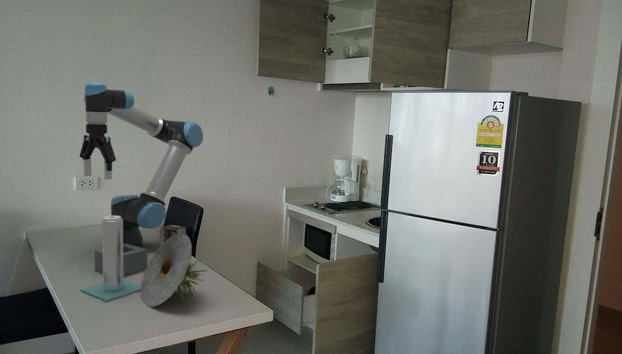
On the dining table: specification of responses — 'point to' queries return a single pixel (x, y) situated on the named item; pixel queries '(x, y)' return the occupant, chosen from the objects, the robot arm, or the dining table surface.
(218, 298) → the dining table surface
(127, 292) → the teal mat
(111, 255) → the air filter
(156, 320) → the dining table surface
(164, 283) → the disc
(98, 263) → the grey hollow square block
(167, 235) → the coffee box
